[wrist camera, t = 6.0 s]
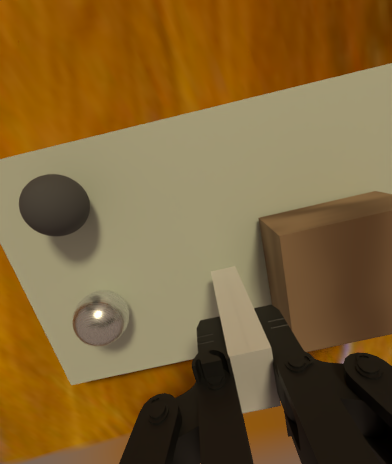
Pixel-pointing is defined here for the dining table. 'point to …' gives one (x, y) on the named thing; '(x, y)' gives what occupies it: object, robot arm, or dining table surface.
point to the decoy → (54, 205)
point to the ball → (100, 318)
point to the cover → (332, 269)
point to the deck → (189, 210)
